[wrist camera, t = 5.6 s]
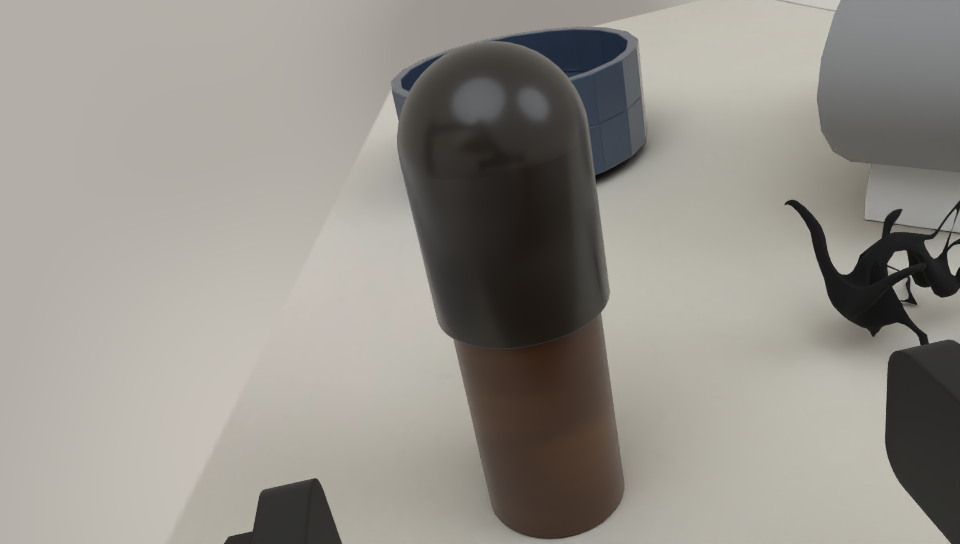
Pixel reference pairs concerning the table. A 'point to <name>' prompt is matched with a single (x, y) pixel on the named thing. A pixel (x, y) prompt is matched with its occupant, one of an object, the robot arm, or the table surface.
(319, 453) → the table surface
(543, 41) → the bowl
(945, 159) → the alarm clock
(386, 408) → the table surface
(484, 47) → the two-tone capsule
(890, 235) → the creature
